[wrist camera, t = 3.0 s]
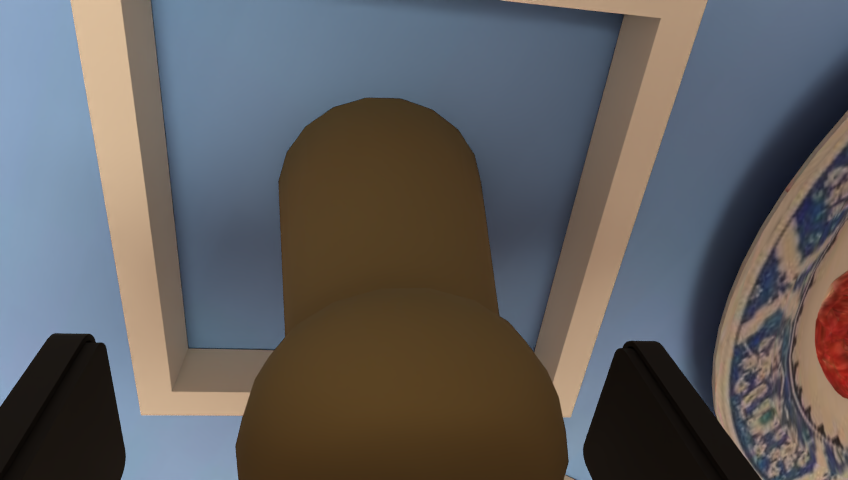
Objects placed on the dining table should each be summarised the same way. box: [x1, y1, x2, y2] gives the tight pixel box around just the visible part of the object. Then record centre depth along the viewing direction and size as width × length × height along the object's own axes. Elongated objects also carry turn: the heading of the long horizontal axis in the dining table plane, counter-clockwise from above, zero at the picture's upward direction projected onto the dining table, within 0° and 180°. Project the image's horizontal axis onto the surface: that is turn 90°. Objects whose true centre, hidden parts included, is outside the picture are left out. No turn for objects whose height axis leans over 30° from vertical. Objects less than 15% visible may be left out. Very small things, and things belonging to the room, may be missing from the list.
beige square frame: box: [71, 0, 708, 417], centre depth 17 cm, size 14×14×2 cm
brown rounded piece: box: [236, 98, 569, 480], centre depth 13 cm, size 6×6×11 cm
